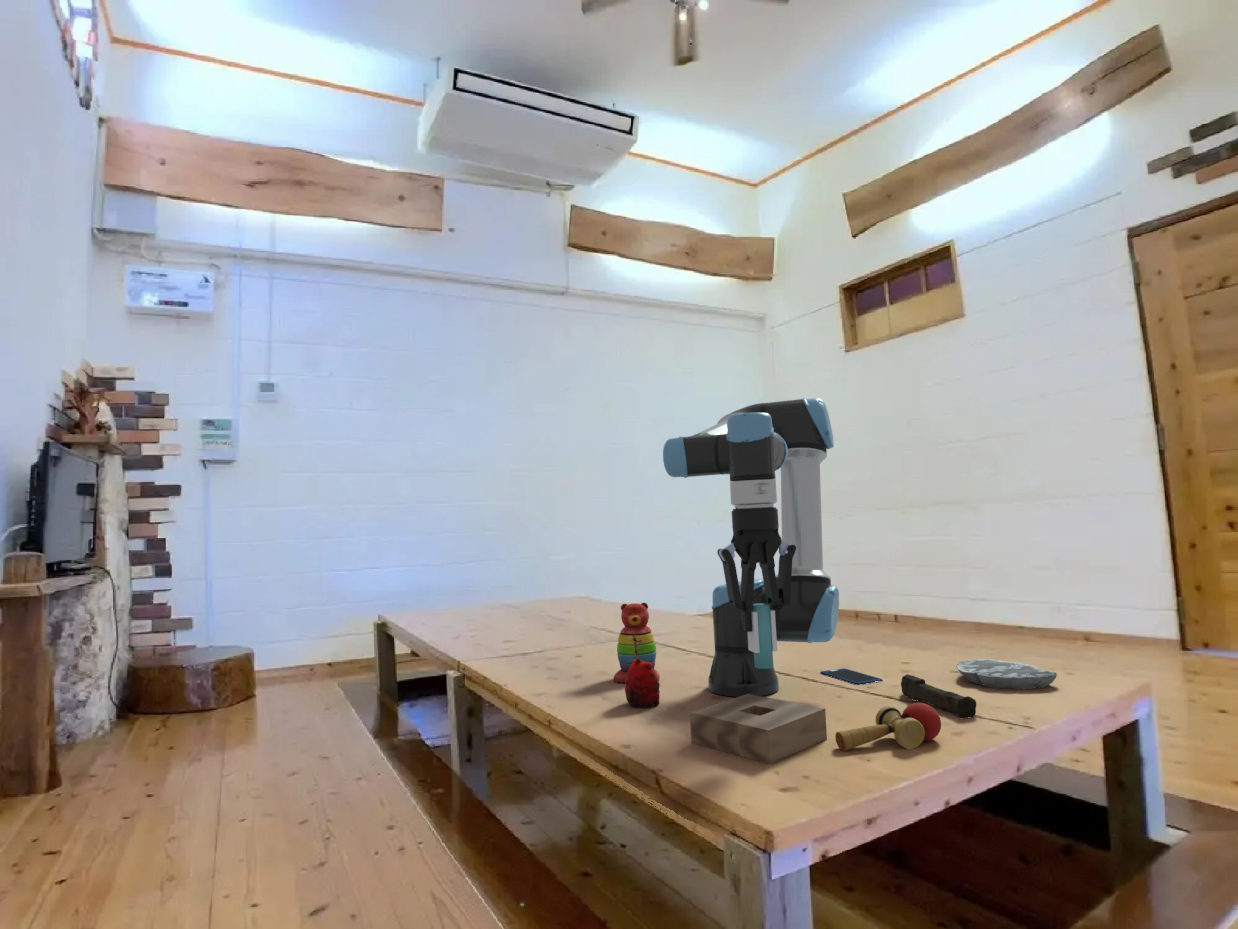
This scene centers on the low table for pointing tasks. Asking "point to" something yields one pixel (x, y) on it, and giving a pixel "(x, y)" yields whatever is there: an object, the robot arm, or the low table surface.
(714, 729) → the hole block
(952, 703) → the hand tool
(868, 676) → the cell phone
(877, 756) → the low table surface
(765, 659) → the peg
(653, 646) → the stacking bear
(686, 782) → the low table surface
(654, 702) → the red clay folk toy
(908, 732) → the kendama
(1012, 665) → the brain slice
